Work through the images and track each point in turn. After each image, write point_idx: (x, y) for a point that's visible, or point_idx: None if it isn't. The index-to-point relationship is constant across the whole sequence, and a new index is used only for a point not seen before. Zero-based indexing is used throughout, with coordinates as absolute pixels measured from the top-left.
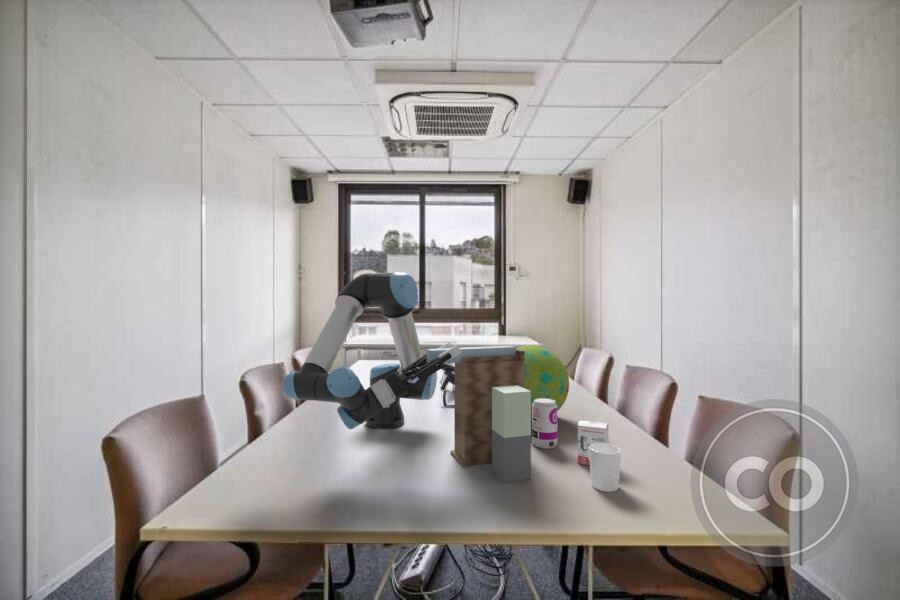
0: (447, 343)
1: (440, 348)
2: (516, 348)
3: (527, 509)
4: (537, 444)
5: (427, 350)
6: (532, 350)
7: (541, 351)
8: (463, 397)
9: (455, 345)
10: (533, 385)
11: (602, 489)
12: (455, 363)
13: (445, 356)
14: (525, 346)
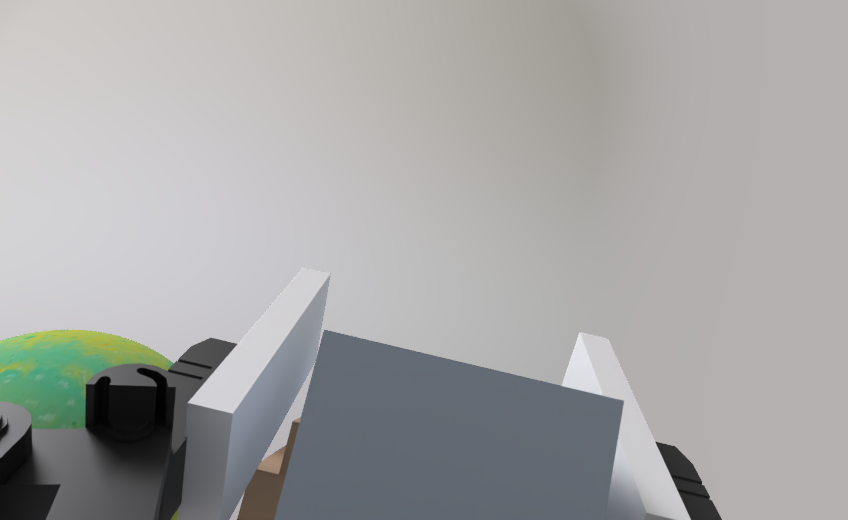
0: (325, 284)
1: (292, 336)
2: (49, 337)
3: None
4: None
5: (389, 371)
6: (146, 357)
7: (171, 364)
8: None
9: (597, 343)
10: (172, 518)
11: None
12: (272, 515)
13: (714, 508)
14: (93, 334)
